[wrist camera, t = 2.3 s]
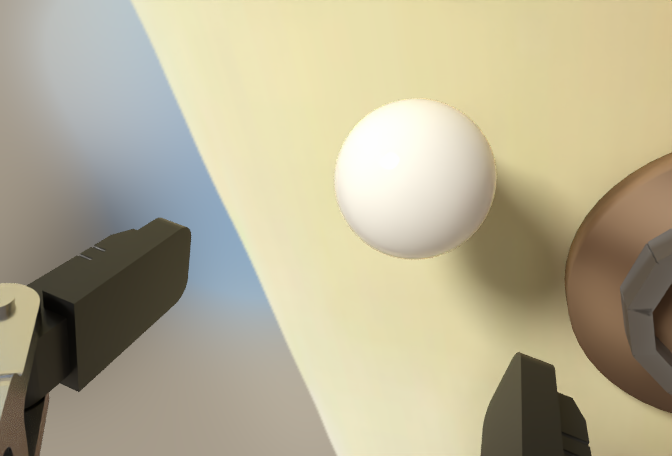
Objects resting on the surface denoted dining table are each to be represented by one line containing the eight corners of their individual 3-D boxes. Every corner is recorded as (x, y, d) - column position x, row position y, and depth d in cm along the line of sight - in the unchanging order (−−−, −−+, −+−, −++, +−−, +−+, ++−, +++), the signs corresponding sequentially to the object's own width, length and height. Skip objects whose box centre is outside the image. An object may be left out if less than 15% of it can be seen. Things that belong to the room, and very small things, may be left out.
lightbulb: (523, 94, 25) (526, 159, 15) (473, 204, 28) (450, 315, 18) (403, 53, 26) (335, 91, 16) (367, 164, 29) (294, 250, 19)
